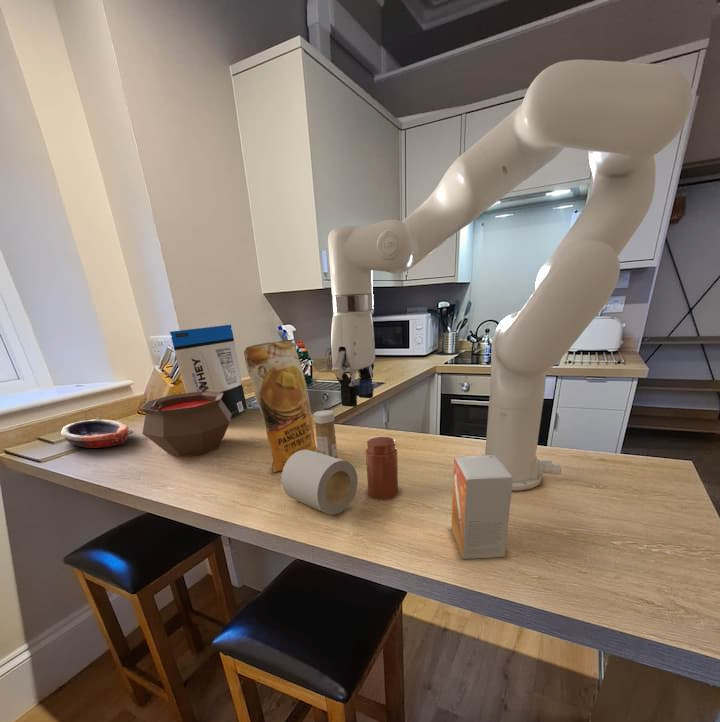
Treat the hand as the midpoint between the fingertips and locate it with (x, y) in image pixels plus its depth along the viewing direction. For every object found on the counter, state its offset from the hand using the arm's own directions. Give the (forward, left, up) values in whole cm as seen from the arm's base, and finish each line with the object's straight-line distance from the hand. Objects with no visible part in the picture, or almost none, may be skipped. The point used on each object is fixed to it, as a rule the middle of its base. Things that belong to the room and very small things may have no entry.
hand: (357, 400), depth 80 cm
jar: (-6, +8, -16) cm, 19 cm away
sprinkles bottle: (+9, -2, -17) cm, 19 cm away
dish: (+90, -14, -17) cm, 93 cm away
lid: (0, 0, +4) cm, 4 cm away
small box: (-24, +23, -17) cm, 37 cm away
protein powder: (+64, -42, -17) cm, 78 cm away
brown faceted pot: (+53, -12, -17) cm, 57 cm away
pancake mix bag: (+20, -6, -17) cm, 26 cm away
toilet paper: (+4, +15, -17) cm, 23 cm away
